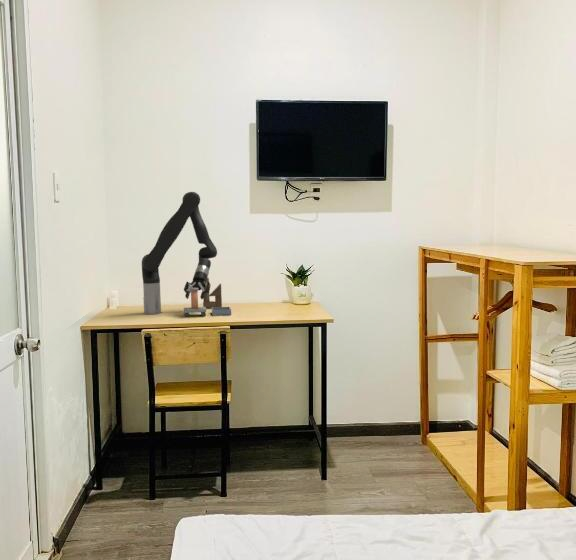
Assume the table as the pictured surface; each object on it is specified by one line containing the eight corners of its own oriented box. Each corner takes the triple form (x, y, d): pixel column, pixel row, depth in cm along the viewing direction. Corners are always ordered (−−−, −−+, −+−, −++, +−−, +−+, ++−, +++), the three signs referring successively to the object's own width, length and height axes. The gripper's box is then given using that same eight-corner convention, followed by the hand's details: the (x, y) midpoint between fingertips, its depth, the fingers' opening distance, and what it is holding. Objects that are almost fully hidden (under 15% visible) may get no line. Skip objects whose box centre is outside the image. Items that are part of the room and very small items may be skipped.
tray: (212, 315, 320) (212, 310, 320) (211, 312, 330) (211, 307, 330) (231, 315, 322) (231, 309, 322) (229, 311, 332) (229, 306, 332)
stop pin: (190, 309, 319) (189, 288, 317) (190, 307, 323) (189, 287, 322) (199, 309, 319) (198, 288, 318) (198, 307, 324) (198, 287, 323)
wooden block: (221, 307, 346) (221, 277, 344) (203, 308, 344) (202, 278, 342) (221, 306, 350) (220, 276, 348) (203, 307, 348) (202, 277, 346)
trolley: (183, 317, 317) (183, 310, 316) (184, 314, 325) (183, 307, 324) (206, 316, 319) (206, 309, 318) (205, 313, 327) (205, 306, 326)
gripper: (187, 270, 329) (179, 293, 319) (211, 270, 325) (204, 294, 316) (191, 278, 334) (184, 301, 325) (215, 279, 331) (208, 302, 321)
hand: (194, 298), depth 320 cm, fingers open, 8 cm apart
